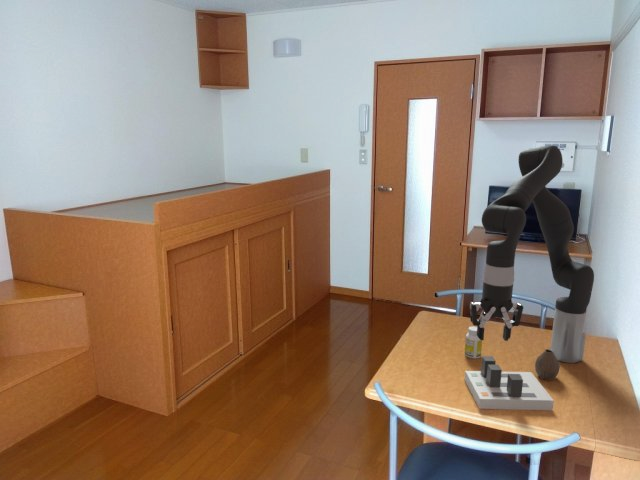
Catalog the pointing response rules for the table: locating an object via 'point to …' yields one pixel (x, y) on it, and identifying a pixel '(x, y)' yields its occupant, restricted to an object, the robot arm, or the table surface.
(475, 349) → the supplement bottle
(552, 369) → the vase
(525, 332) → the table surface
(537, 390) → the breaker panel
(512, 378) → the block
